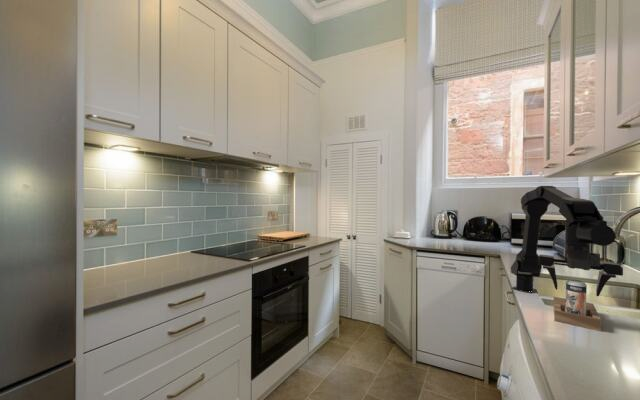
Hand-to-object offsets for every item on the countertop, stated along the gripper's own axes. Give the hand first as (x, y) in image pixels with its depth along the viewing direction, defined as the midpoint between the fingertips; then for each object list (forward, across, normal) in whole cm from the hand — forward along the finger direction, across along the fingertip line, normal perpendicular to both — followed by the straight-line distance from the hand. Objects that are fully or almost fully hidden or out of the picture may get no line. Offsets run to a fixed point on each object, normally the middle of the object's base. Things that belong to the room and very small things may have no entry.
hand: (576, 292), depth 86 cm
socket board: (+8, 0, +4) cm, 9 cm away
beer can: (+9, 0, 0) cm, 9 cm away
